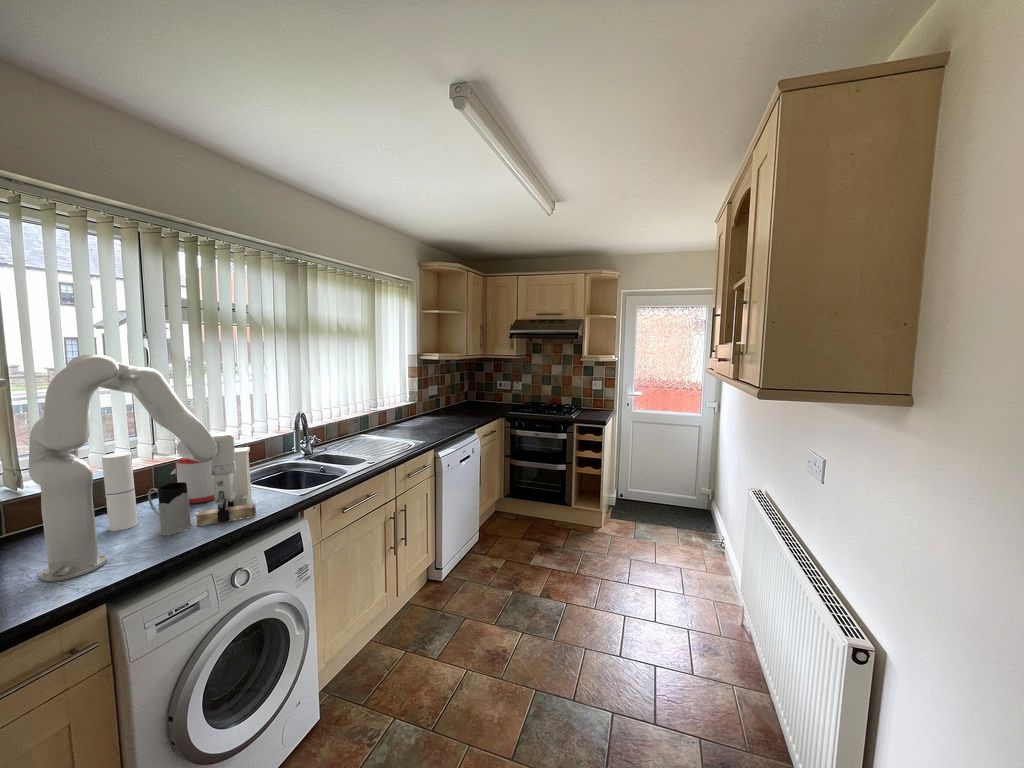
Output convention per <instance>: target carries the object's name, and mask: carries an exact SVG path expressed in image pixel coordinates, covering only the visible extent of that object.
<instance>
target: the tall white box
mask: <svg viewBox="0 0 1024 768" xmlns="http://www.w3.org/2000/svg"><path fill="white" fill-rule="evenodd" d="M234 450H235V464H236V471H235V472H234V475H235V482H236V490H237V494H236V496H235V497H234V499H233V501H234V506H240V505H246V504H252V500H253V499H252V497H253V496H252V486H251V473H250V472H251V471H250V470H251V469H250V454H249V453H250V452H251V447H250V446H245V447H234ZM233 501H231V502H233Z"/></svg>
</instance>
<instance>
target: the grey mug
mask: <svg viewBox="0 0 1024 768" xmlns="http://www.w3.org/2000/svg"><path fill="white" fill-rule="evenodd" d="M152 490H154V491H155V492H156V494H157V498H158V503H157V504H158V510H157V509H156V507H155V505H154V504H153V501H152V497H151V493H152ZM147 499H148V502H149V506H150V508H151V509H152V511H153V512H154V513H155V514H156V515H157V516H158V517H159V523H160V527H159V528H160V529H159V533H160V534H162V535H161V536H169V535H168V534H174V535H176V534H175V533H178V534H180V533H179V532H182V531H184V532H186V531H185V530H187V529H189V528H191V527H192V526H193V523H192V521H191V511H190V504H189V496H188V492H187V483H185V482H171V483H166V484H163V485H160V486H159V487H158V488H155V487H153V488H151V489H149V490H148V491H147ZM193 527H194V526H193ZM193 527H192V528H193ZM192 528H191V529H192ZM189 530H190V529H189ZM187 531H188V530H187ZM182 533H183V532H182ZM160 534H159V535H160Z"/></svg>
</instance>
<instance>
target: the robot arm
mask: <svg viewBox="0 0 1024 768" xmlns="http://www.w3.org/2000/svg"><path fill="white" fill-rule="evenodd" d="M99 388H101V389H107V390H112V391H115V392H117V391H118V392H122V393H128V394H133V395H134V396H135V397H136V398H137V400H138V401H139V403H140V405H142V406H143V408H144V409H145V410H146V412H147V413H148V414H149V416H150V417H151V419H152V420H154V422H156V423H157V424H158V425H159V426H161V427H162V428H164V429H166V430H168V431H169V432H170V433H172V434H173V435H174V436H176V438H177V439H178V440H179V442H178V443H177V446H176V452H177V454H178V455H179V456H181V458H182V457H184V458H187V459H190V460H195V461H198V462H206V461H209V468H210V475H213V476H214V481H213V482H214V497H215V499H214V502H215V504H217V508H216V509H217V512H218V522H221V523H226V521H227V522H230V521H229V520H230V518H229V509H228V507H233V506H234V501H233V499H234V497H235V496H236V494H237V490H236V482H235V475H234V472H235V471H236V464H235V450H234V448H235V440H234V435H233V433H231V432H216V433H212V434H211V433H210V432H209V430H208V428H206V426H205V425H204V424H203V423H202V422H201V421H200V420H199V419H198V418H197V417H196V416H195V415H194V414H193V413H192V412H191V411H190V410H189V409H188V408H187V407H186V406H185V405H184V403H183V402H182V400H180V398H179V396H178V395H177V393H176V392H175V391H174V389H173V388H172V387H171V385H170V384H169V383H168V381H167V380H166V378H165V377H164V376H163V374H162V373H161V372H159V371H158V370H157V369H155V368H152V367H146V366H144V367H143V366H135V365H129V364H125V363H122V362H117V361H116V360H115V359H114V358H112V357H111V356H107V355H105V354H104V355H103V354H83V355H82V354H81V355H77V356H75V357H73V358H71V360H70V361H69V362H68V363H67V365H66V367H64V368H62V370H60V371H59V372H58V373H57V374H56V375H55V376H54V377H53V378H52V379H51V380H50V382H49V384H48V387H47V389H46V392H45V399H44V407H43V408H44V409H43V417H42V418H40V419H38V420H37V421H36V422H35V423H34V424H33V426H32V428H31V430H30V433H29V434H30V435H29V444H28V446H29V447H28V449H29V450H28V451H29V452H28V474H29V477H30V479H31V480H32V482H34V483H35V484H36V485H38V486H39V487H40V498H41V499H40V500H41V501H40V504H41V505H40V508H41V517H42V523H43V534H44V541H45V542H44V543H45V551H46V560H47V566H48V567H47V568H45V569H43V571H42V572H40V575H39V577H40V580H42V581H45V582H57V581H64V580H69V579H72V578H76V577H80V576H82V575H87V574H88V573H89V574H90V573H91V572H93V571H95V570H97V569H99V568H101V567H103V566H104V565H105V564H106V563H107V562H108V557H107V555H106V554H102V553H99V548H98V537H97V528H96V527H97V526H96V519H95V518H96V517H95V508H94V501H93V500H94V499H93V486H94V485H93V484H94V475H93V470H92V468H91V466H90V464H88V462H86V460H83V459H82V458H80V457H79V449H80V448H82V447H83V446H85V444H87V442H88V440H89V438H90V432H91V431H90V430H91V429H90V417H91V403H92V398H93V395H94V394H95V392H96V391H97V390H98V389H99ZM231 501H233V502H231Z"/></svg>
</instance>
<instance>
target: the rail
mask: <svg viewBox="0 0 1024 768" xmlns="http://www.w3.org/2000/svg"><path fill="white" fill-rule="evenodd" d="M256 508H257V507H256V504H255V503H250V504H246V505H240V506H233V507H228V509H229V518H230V520H233V521H235V520H234V519H240V518H246V519H248V518H247V517H252V518H254V517H253V516H255V517H256V515H257V511H256ZM217 509H218V508H215V509H207V510H201V511H198V513H197V514H196V517H195V518H196V527H200V526H199V525H203V526H206V525H205V524H209V525H213V524H212V523H215V524H219V523H218V512H217ZM240 520H241V519H240Z"/></svg>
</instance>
